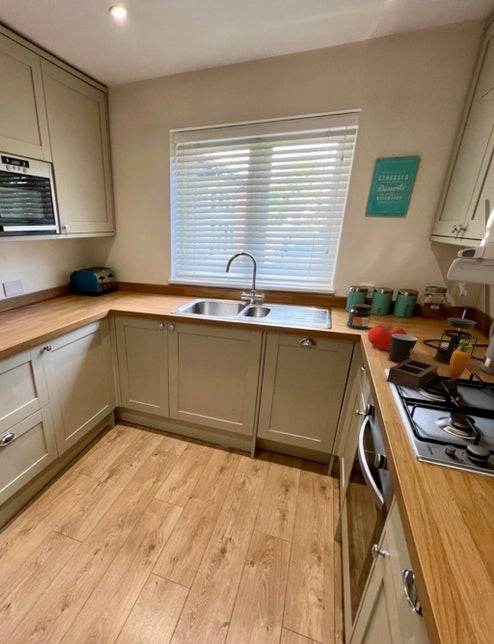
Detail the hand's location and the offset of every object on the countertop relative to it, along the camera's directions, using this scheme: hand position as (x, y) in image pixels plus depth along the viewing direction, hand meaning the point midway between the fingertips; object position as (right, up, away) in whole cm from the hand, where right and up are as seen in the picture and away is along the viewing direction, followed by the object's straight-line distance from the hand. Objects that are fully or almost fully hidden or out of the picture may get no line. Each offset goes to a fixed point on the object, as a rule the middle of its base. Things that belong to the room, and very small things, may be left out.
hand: (480, 298), depth 104 cm
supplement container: (0, -4, +74) cm, 74 cm away
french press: (+13, -21, +29) cm, 38 cm away
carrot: (-1, -27, +10) cm, 29 cm away
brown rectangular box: (-15, -27, +10) cm, 32 cm away
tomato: (-5, -15, +42) cm, 45 cm away
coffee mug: (-7, -21, +28) cm, 36 cm away
